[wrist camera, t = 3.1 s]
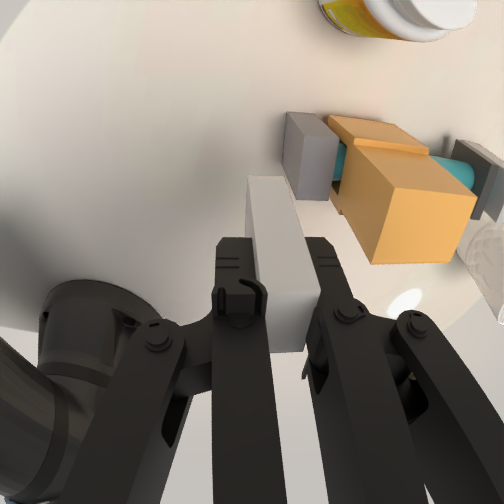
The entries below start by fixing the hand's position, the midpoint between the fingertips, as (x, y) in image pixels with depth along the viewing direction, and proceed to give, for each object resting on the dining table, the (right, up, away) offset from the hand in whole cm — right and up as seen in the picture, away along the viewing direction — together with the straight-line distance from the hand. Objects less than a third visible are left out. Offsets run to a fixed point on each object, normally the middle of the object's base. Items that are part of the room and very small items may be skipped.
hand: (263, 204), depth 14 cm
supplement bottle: (+6, +15, +2) cm, 16 cm away
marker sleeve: (+7, +5, +7) cm, 11 cm away
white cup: (+24, 0, +15) cm, 28 cm away
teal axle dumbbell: (+11, +6, +9) cm, 15 cm away
